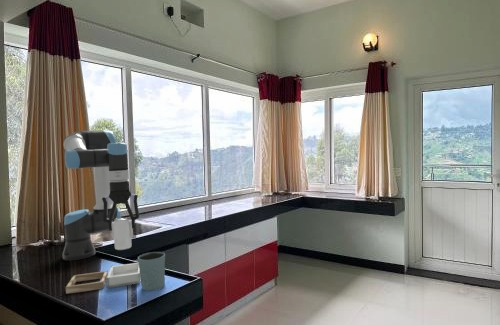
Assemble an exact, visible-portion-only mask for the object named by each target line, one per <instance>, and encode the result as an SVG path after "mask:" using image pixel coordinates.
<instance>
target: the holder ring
mask: <svg viewBox="0 0 500 325" xmlns="http://www.w3.org/2000/svg"><path fill="white" fill-rule="evenodd" d="M108 274H109V271H108V270H104V271H96V272H89V273H82V274H80V273H79V274H75V275H73V276H72V277H71V279H70V280H69V282H68V283H67V284H66V286H65V294H66V295H68V294H74V293H82V292H88V291H89V292H90V291H96V290H102V289H104V288H105V285H106V284H107V276H108ZM93 280H100V281H96V282H95V281H94V282H88V283H81V284H77V283H78V282H85V281H93Z"/></svg>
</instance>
